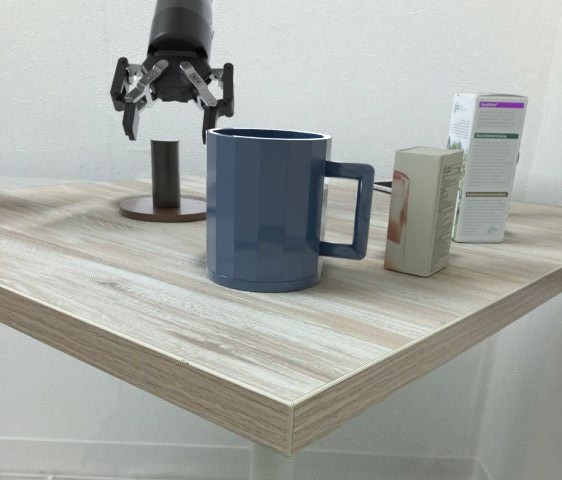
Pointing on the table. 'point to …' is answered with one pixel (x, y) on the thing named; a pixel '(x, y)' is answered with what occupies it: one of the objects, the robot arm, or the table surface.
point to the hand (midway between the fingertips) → (168, 138)
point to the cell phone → (383, 185)
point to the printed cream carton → (422, 209)
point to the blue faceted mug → (276, 208)
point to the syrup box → (485, 161)
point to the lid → (164, 189)
